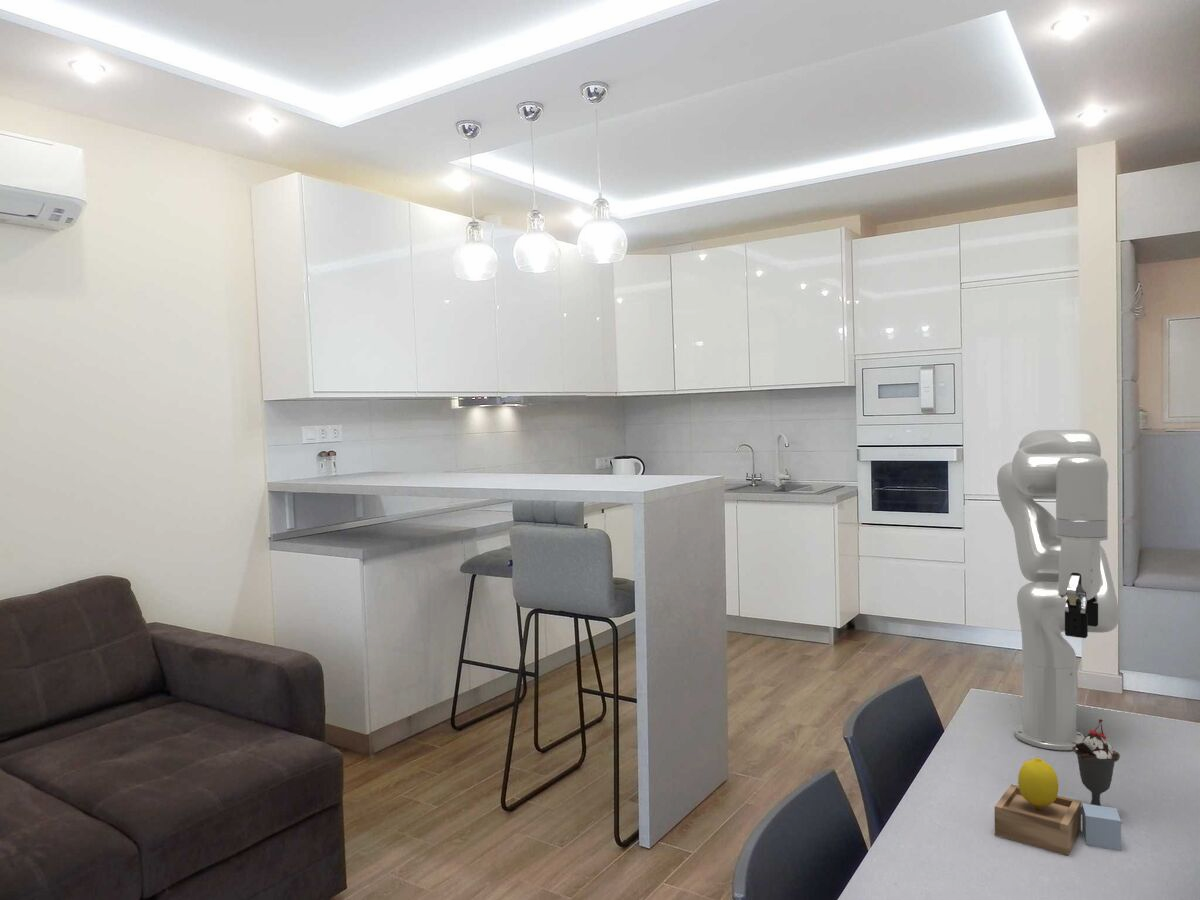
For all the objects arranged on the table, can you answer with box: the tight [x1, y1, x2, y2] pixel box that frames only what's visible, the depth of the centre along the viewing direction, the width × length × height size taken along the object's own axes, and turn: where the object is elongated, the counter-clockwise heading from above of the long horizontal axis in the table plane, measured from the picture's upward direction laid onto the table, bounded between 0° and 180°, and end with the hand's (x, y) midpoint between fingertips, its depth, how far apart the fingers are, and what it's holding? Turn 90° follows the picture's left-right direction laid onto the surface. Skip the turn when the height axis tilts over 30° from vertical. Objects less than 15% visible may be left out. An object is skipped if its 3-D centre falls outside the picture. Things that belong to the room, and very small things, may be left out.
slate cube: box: [1081, 802, 1122, 852], centre depth 125 cm, size 4×4×4 cm
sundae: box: [1072, 718, 1121, 815], centre depth 133 cm, size 7×7×15 cm
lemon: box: [1017, 757, 1059, 809], centre depth 128 cm, size 6×6×8 cm
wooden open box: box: [994, 784, 1082, 857], centre depth 128 cm, size 10×10×4 cm
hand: (1081, 630), depth 139 cm, fingers open, 9 cm apart
